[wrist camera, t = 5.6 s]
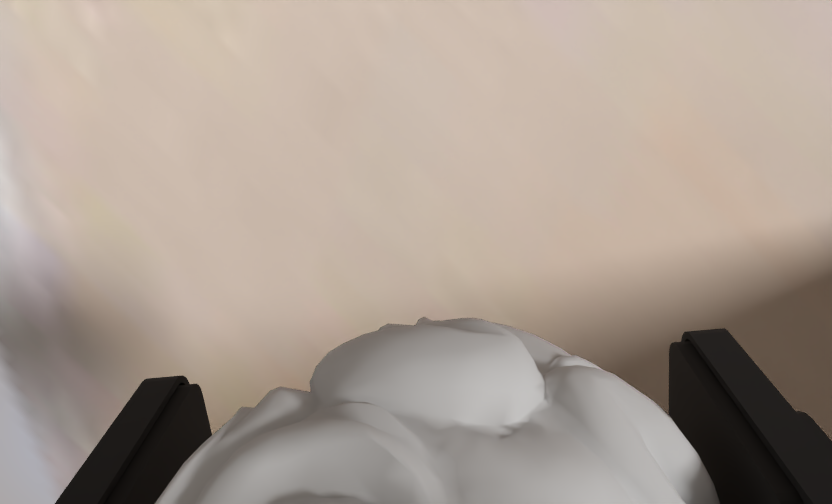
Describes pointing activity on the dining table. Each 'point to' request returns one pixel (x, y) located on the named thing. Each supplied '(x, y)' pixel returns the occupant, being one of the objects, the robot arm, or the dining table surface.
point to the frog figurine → (448, 430)
